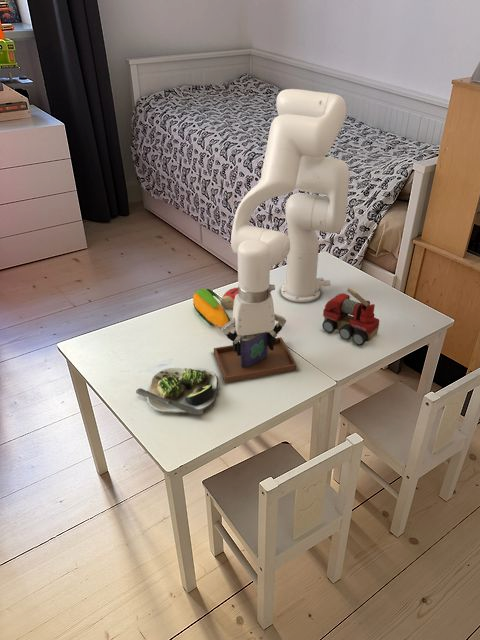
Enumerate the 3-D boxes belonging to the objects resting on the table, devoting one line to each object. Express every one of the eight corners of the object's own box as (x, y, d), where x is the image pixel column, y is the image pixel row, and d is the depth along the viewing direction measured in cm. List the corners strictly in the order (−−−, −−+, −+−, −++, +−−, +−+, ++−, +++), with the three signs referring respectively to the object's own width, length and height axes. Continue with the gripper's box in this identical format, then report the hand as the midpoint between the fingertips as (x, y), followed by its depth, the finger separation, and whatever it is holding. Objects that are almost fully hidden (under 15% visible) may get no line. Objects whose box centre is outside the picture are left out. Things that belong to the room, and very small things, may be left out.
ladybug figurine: (216, 306, 164) (215, 296, 162) (231, 292, 171) (231, 282, 169) (235, 312, 163) (235, 302, 160) (250, 297, 170) (250, 287, 167)
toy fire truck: (335, 317, 162) (340, 263, 151) (380, 336, 155) (389, 281, 144) (313, 333, 155) (317, 278, 144) (359, 354, 148) (368, 298, 137)
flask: (262, 351, 147) (263, 318, 140) (270, 355, 146) (271, 322, 139) (238, 366, 142) (237, 332, 135) (246, 371, 140) (245, 337, 133)
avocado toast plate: (130, 419, 125) (127, 404, 123) (144, 371, 139) (142, 357, 136) (213, 420, 126) (212, 405, 123) (219, 372, 140) (218, 358, 137)
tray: (281, 342, 151) (281, 337, 150) (296, 370, 142) (296, 364, 141) (213, 353, 146) (213, 348, 145) (225, 383, 137) (224, 377, 136)
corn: (208, 278, 162) (239, 310, 149) (211, 300, 167) (241, 332, 154) (185, 286, 159) (214, 318, 146) (189, 307, 164) (218, 341, 151)
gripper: (283, 280, 135) (281, 337, 146) (215, 288, 131) (218, 347, 142) (292, 294, 130) (290, 353, 141) (222, 304, 125) (225, 364, 136)
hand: (254, 349), depth 141 cm, fingers closed on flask, 8 cm apart
